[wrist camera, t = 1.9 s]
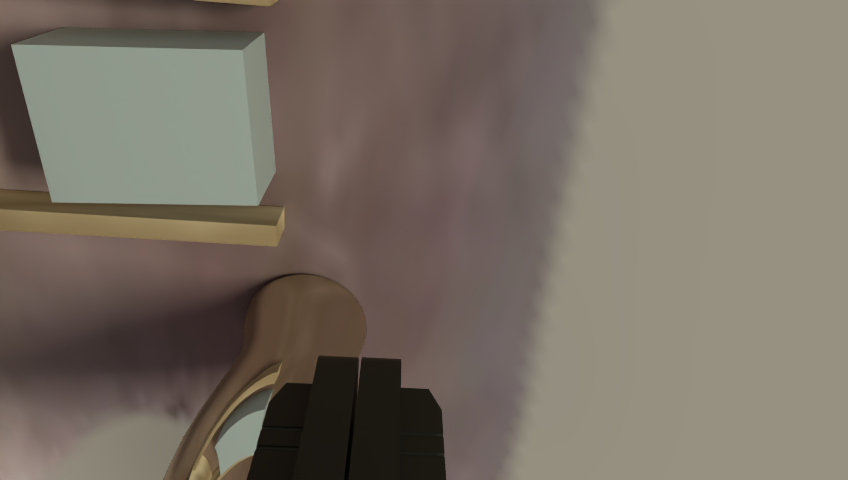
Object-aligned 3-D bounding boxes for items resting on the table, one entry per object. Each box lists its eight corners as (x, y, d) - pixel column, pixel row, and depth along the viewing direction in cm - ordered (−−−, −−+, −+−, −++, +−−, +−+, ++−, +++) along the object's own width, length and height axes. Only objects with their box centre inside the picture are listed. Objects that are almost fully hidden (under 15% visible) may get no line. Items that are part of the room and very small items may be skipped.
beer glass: (235, 371, 33) (121, 674, 20) (239, 256, 30) (105, 525, 17) (367, 385, 34) (340, 688, 21) (384, 274, 31) (364, 547, 18)
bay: (-171, -65, 24) (-393, -56, 17) (278, -28, 25) (231, -6, 18) (-86, 204, 29) (-233, 290, 22) (284, 226, 30) (249, 315, 23)
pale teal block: (65, 26, 26) (10, 44, 22) (265, 31, 26) (242, 50, 22) (96, 166, 28) (52, 202, 25) (276, 169, 29) (258, 205, 25)
